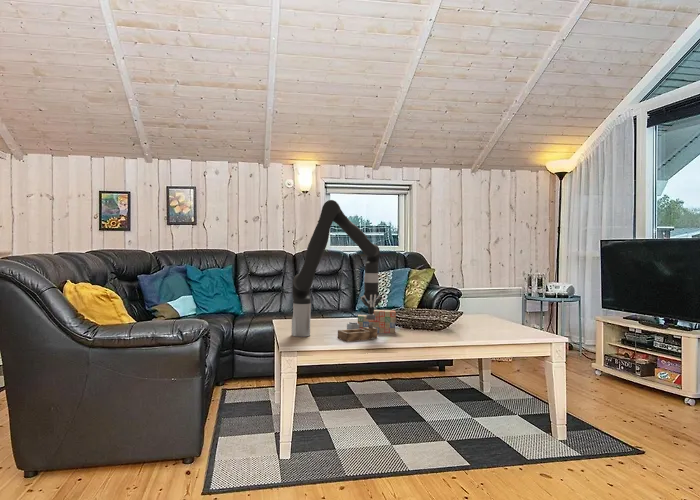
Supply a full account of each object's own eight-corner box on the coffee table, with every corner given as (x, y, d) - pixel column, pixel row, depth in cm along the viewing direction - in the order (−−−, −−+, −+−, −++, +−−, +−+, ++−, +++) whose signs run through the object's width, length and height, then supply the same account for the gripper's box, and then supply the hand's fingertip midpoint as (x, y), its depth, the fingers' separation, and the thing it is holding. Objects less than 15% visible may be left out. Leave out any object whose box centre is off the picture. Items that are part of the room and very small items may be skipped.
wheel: (369, 319, 262) (369, 314, 262) (365, 318, 266) (365, 313, 266) (376, 319, 264) (376, 314, 264) (372, 318, 268) (372, 313, 268)
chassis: (346, 341, 252) (347, 325, 252) (337, 337, 262) (338, 322, 262) (379, 338, 262) (379, 323, 262) (369, 335, 271) (370, 320, 271)
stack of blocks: (357, 332, 281) (357, 310, 281) (357, 330, 287) (357, 309, 287) (395, 333, 280) (395, 311, 280) (394, 331, 286) (395, 310, 286)
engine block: (351, 335, 269) (351, 323, 269) (346, 334, 274) (347, 321, 274) (359, 335, 271) (359, 322, 271) (354, 333, 276) (355, 321, 276)
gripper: (364, 282, 259) (363, 315, 259) (385, 281, 265) (385, 314, 265) (357, 281, 265) (356, 314, 265) (378, 280, 271) (378, 312, 271)
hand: (371, 314), depth 265 cm, fingers closed
